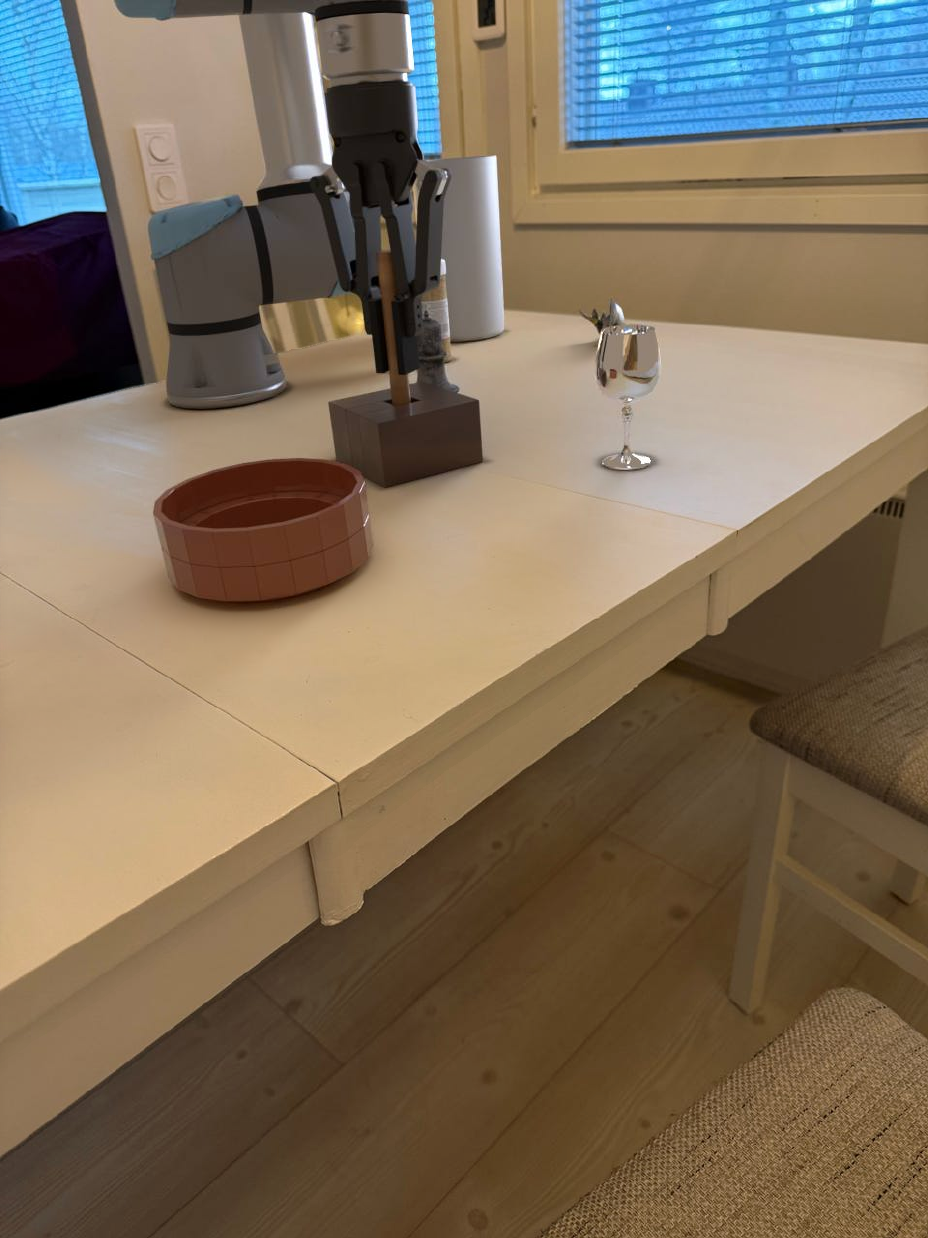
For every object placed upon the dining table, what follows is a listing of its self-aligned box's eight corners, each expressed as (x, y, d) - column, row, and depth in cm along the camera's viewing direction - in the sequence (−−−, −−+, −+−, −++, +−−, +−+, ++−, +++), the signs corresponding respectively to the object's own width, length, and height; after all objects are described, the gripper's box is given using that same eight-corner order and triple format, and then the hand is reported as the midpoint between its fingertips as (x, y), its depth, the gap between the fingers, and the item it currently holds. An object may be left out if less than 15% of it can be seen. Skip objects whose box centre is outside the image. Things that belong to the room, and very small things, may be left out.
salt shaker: (455, 429, 98) (447, 314, 93) (403, 430, 100) (391, 316, 94) (466, 414, 104) (458, 304, 98) (416, 415, 105) (406, 306, 99)
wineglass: (619, 476, 82) (620, 339, 76) (582, 460, 86) (581, 329, 81) (670, 463, 84) (675, 328, 78) (632, 448, 88) (634, 320, 83)
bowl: (148, 561, 72) (130, 489, 69) (324, 513, 79) (313, 445, 76) (208, 633, 61) (189, 550, 58) (408, 570, 67) (400, 492, 64)
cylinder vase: (481, 344, 137) (470, 158, 126) (411, 341, 143) (394, 163, 132) (518, 327, 147) (511, 153, 135) (451, 325, 153) (438, 158, 141)
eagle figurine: (567, 336, 132) (600, 333, 124) (586, 289, 132) (620, 283, 124) (608, 359, 136) (642, 357, 128) (627, 313, 135) (662, 309, 127)
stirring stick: (393, 446, 90) (372, 251, 81) (409, 442, 91) (390, 249, 82) (402, 451, 89) (381, 252, 80) (418, 447, 89) (399, 250, 81)
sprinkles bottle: (449, 356, 132) (441, 256, 125) (455, 362, 128) (448, 259, 121) (417, 359, 131) (408, 259, 125) (423, 366, 127) (414, 263, 121)
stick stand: (336, 460, 92) (327, 401, 89) (428, 438, 96) (422, 381, 94) (385, 487, 84) (377, 423, 81) (483, 461, 88) (479, 399, 85)
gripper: (269, 89, 75) (311, 376, 87) (423, 72, 69) (447, 385, 80) (322, 88, 81) (355, 357, 92) (470, 73, 74) (486, 364, 86)
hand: (398, 370), depth 86 cm, fingers closed on stirring stick, 2 cm apart
